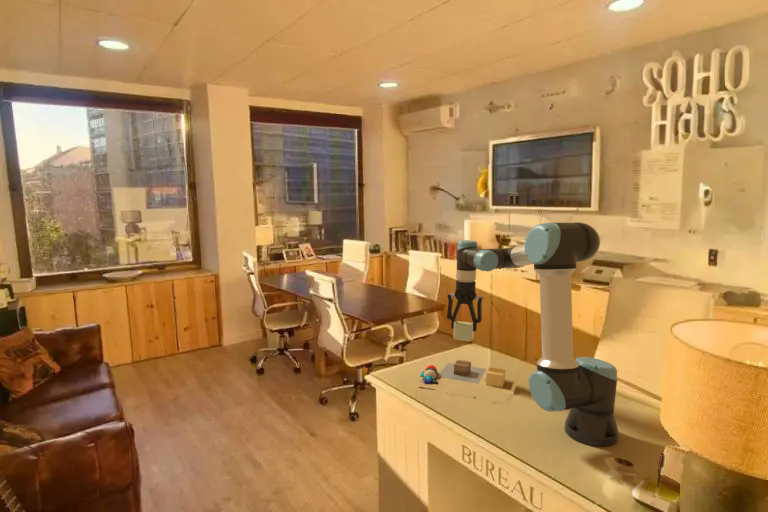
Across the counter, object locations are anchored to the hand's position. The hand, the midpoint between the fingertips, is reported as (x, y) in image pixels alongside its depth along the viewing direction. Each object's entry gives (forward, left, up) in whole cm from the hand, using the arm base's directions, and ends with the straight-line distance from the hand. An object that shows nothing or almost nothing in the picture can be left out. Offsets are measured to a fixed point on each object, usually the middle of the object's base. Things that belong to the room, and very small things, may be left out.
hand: (463, 337), depth 189 cm
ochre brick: (-5, -14, -16) cm, 22 cm away
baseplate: (0, 0, -15) cm, 15 cm away
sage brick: (0, 0, 0) cm, 0 cm away
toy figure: (-11, +10, -16) cm, 22 cm away
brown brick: (0, 0, -14) cm, 14 cm away
